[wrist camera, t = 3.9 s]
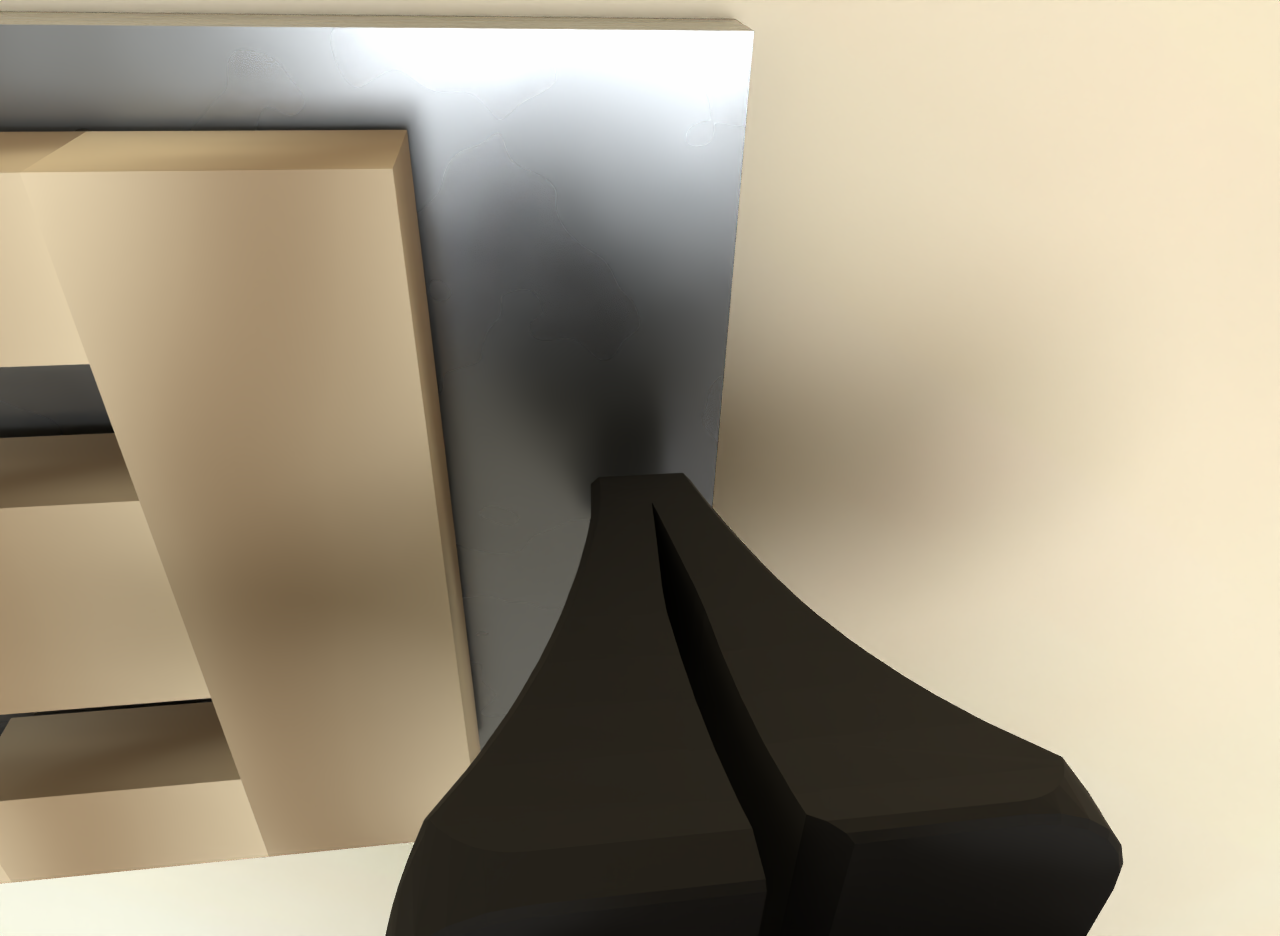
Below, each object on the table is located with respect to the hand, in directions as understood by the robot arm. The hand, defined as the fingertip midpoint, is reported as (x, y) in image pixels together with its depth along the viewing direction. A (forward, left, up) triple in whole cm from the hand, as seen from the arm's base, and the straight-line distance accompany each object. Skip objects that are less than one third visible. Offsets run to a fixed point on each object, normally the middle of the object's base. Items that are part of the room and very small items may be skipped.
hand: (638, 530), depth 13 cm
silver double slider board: (+9, 0, -2) cm, 9 cm away
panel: (+9, 0, -1) cm, 9 cm away
